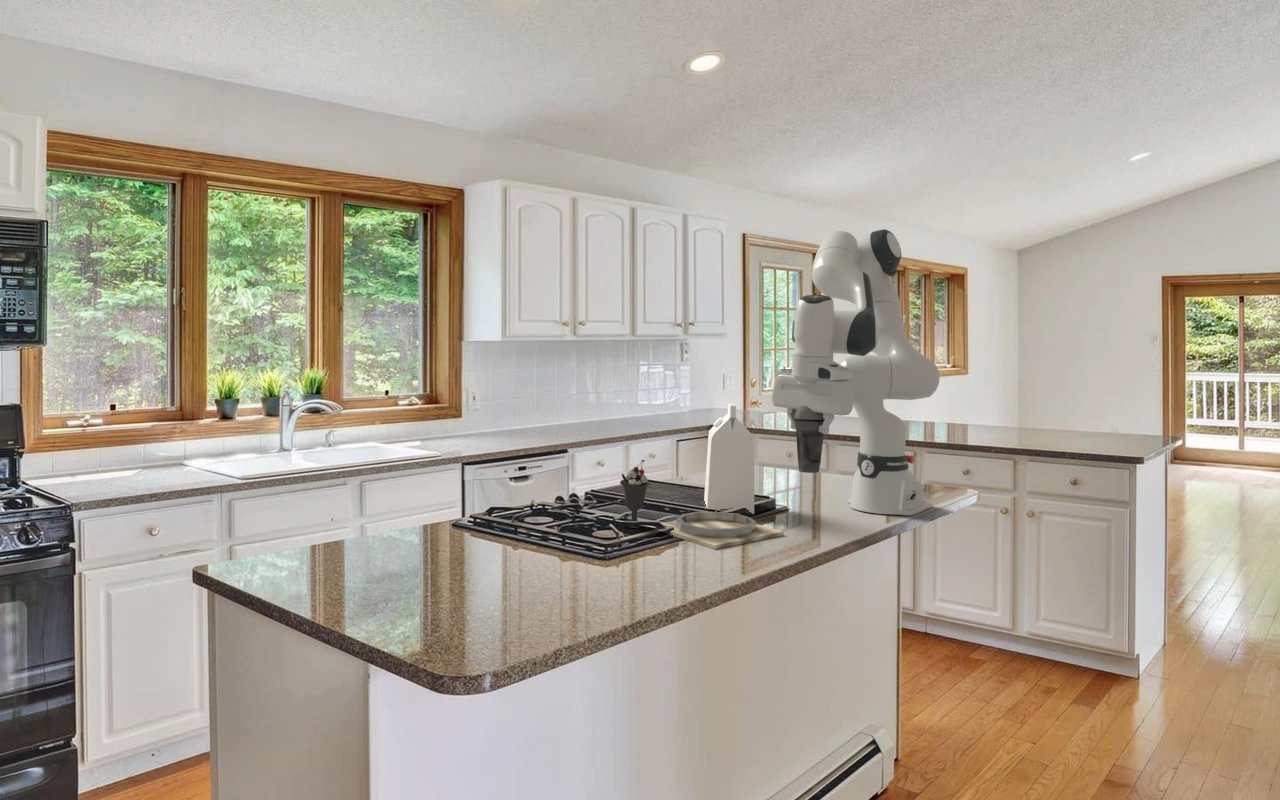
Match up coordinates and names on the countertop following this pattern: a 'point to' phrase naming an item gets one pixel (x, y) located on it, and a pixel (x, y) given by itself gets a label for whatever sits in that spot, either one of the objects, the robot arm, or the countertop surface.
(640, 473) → the sundae
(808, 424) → the beverage cup
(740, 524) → the ring seat
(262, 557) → the countertop surface
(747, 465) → the milk
